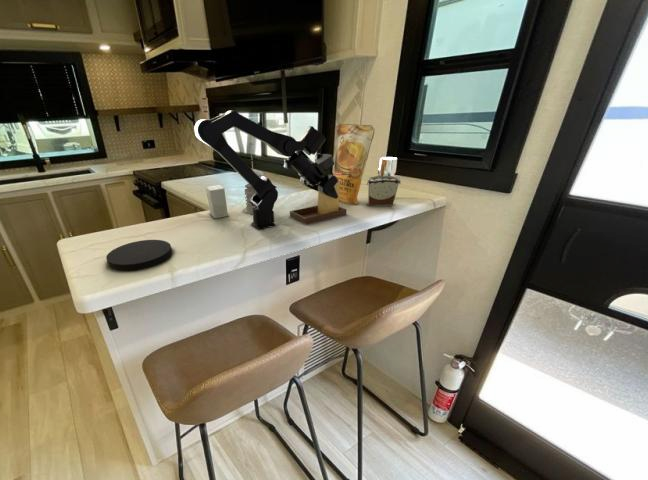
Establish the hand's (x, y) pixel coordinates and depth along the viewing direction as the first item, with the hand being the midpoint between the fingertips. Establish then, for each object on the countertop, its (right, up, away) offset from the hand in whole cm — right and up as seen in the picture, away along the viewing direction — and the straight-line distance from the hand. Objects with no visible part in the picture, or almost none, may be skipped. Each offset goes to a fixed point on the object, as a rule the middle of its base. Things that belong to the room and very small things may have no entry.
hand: (331, 195), depth 113 cm
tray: (-5, -7, +2) cm, 9 cm away
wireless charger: (-60, -26, -22) cm, 69 cm away
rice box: (-1, -6, +3) cm, 7 cm away
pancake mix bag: (+9, +4, +18) cm, 21 cm away
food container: (+21, 0, +11) cm, 24 cm away
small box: (-43, -5, +10) cm, 44 cm away
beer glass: (+26, +6, +20) cm, 33 cm away
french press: (-28, -2, +12) cm, 30 cm away
